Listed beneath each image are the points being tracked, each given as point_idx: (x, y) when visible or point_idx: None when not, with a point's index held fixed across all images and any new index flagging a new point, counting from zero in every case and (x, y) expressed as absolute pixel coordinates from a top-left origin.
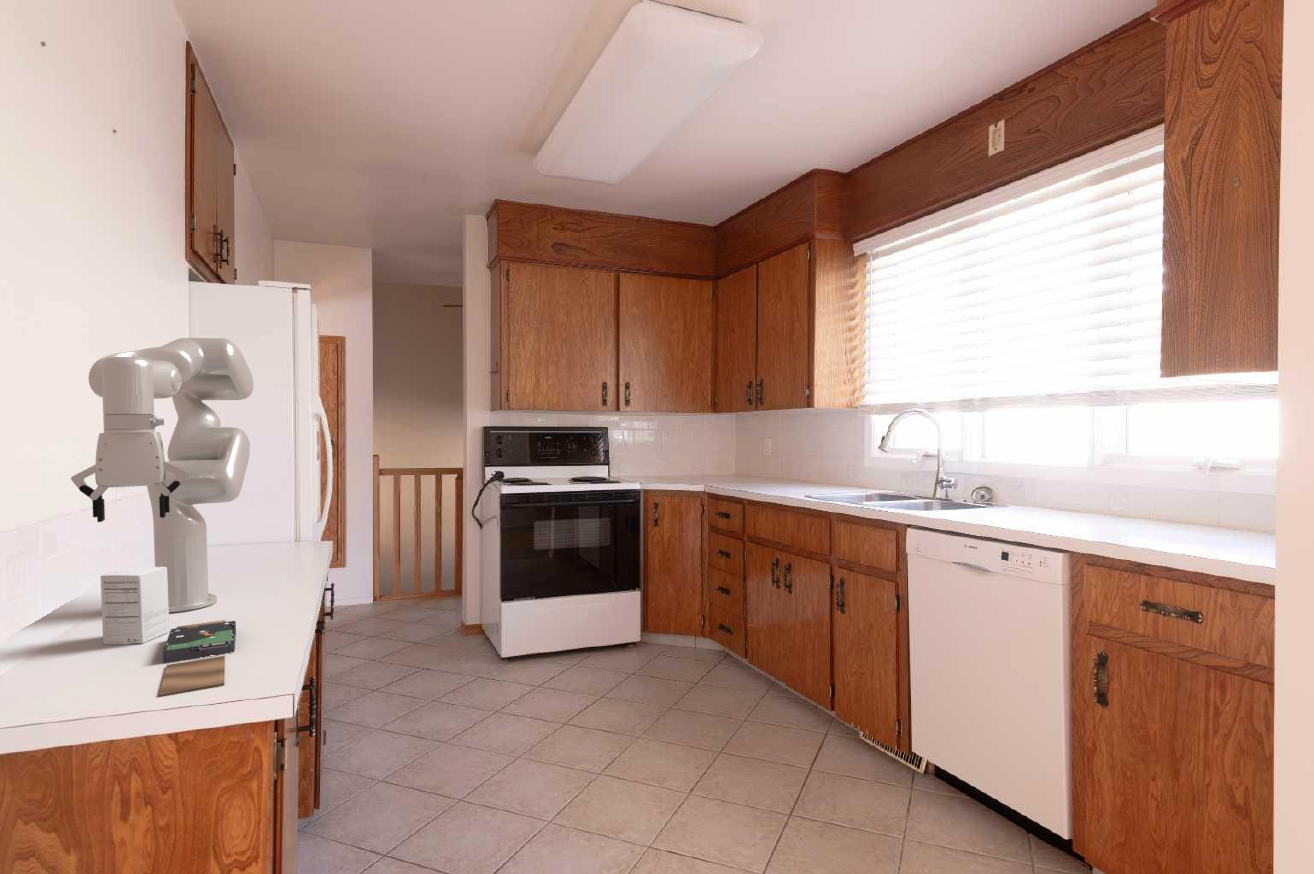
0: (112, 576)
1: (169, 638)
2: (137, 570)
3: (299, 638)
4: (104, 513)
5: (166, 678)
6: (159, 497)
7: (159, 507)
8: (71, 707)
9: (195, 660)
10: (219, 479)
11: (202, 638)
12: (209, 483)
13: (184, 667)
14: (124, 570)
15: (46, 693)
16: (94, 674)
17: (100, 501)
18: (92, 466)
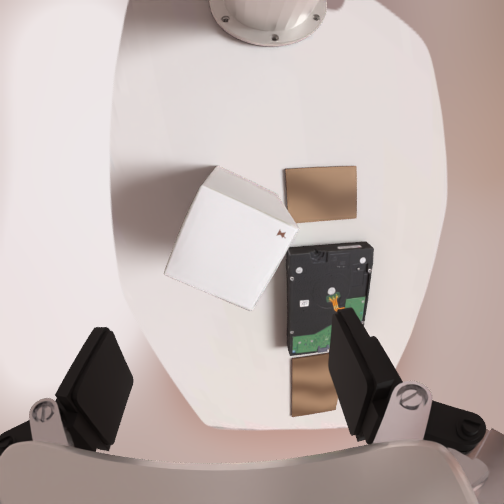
0: (192, 286)
1: (292, 308)
2: (235, 256)
3: (416, 310)
4: (104, 352)
5: (294, 391)
6: (353, 434)
7: (338, 398)
8: (233, 414)
9: (318, 356)
10: None
11: (330, 324)
12: None
13: (308, 371)
14: (202, 238)
15: (198, 383)
16: (223, 353)
17: (109, 443)
18: None
